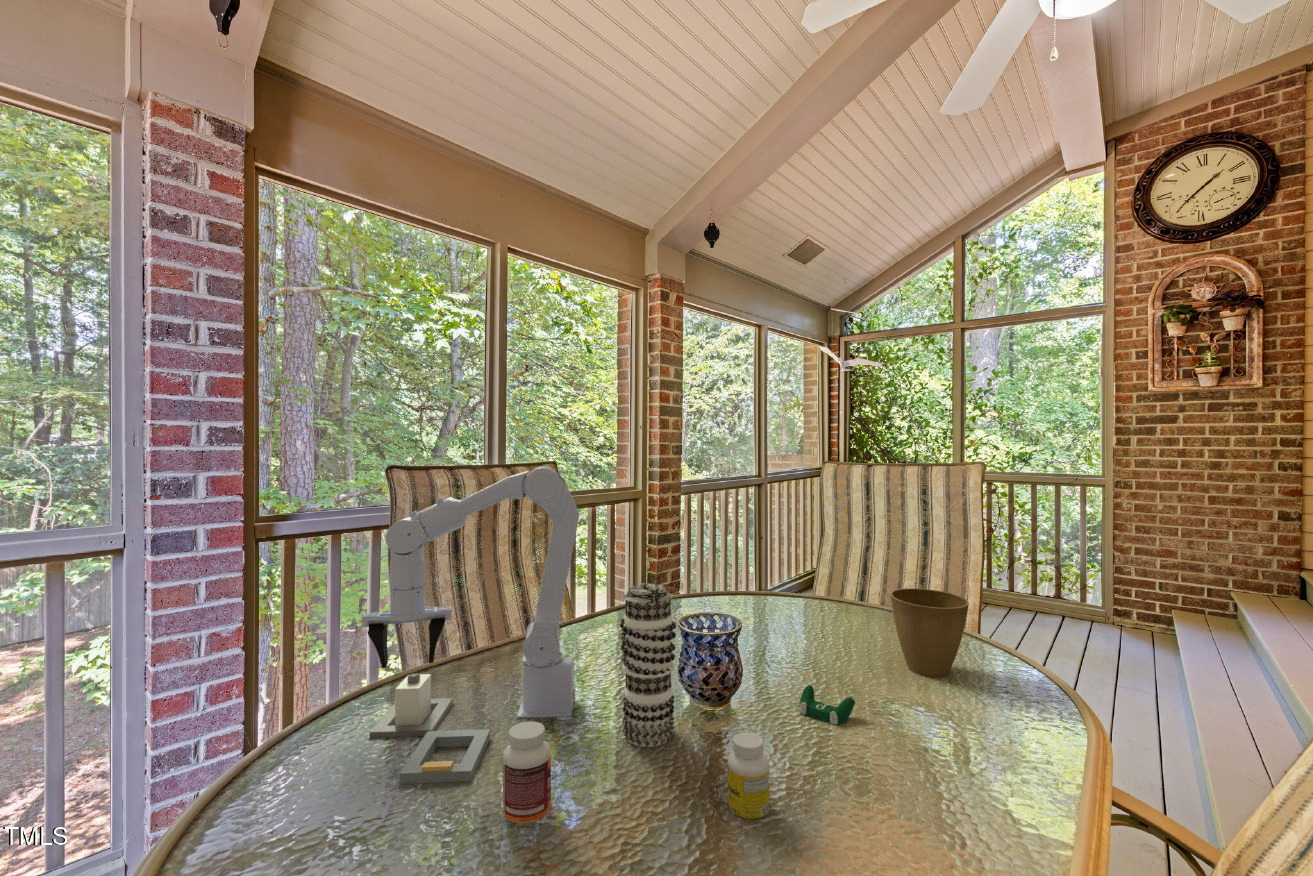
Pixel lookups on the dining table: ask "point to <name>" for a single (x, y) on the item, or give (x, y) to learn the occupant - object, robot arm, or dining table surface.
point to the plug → (413, 699)
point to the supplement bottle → (748, 777)
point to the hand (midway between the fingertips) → (408, 663)
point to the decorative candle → (648, 665)
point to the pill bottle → (526, 774)
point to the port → (445, 770)
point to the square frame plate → (387, 730)
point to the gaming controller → (824, 708)
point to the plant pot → (929, 628)
